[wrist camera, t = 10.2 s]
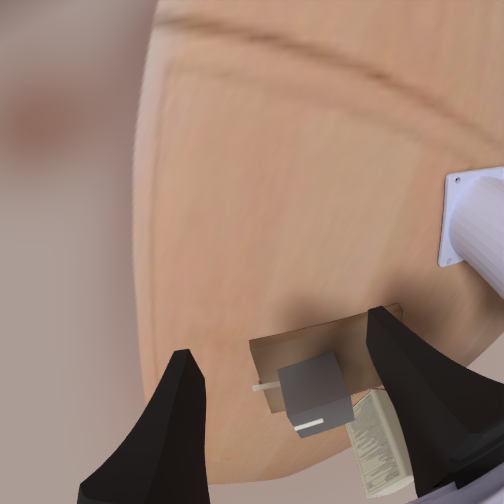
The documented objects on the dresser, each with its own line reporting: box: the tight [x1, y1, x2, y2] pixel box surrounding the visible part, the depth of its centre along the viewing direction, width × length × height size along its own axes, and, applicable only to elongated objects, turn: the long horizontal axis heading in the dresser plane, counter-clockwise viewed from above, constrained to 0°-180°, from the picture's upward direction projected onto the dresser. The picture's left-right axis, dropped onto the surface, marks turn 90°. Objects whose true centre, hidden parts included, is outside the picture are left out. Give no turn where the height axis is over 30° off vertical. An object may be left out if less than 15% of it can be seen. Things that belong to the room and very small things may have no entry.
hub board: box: [249, 303, 403, 413], centre depth 26 cm, size 14×11×4 cm
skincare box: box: [345, 389, 414, 499], centre depth 27 cm, size 6×4×12 cm
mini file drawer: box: [277, 351, 355, 438], centre depth 24 cm, size 5×5×5 cm
